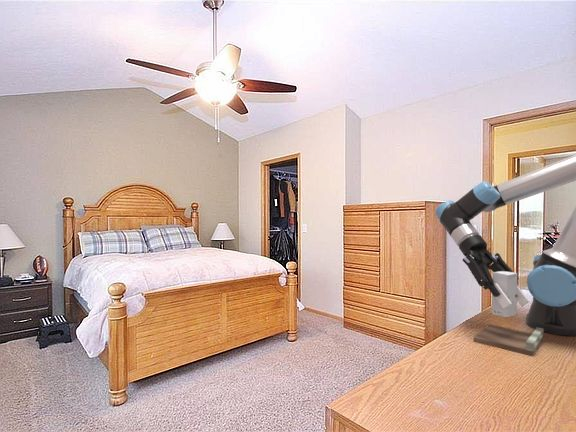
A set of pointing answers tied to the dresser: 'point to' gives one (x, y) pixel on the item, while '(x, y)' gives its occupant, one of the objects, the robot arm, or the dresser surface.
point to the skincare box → (509, 287)
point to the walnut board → (511, 339)
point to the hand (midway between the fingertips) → (516, 304)
